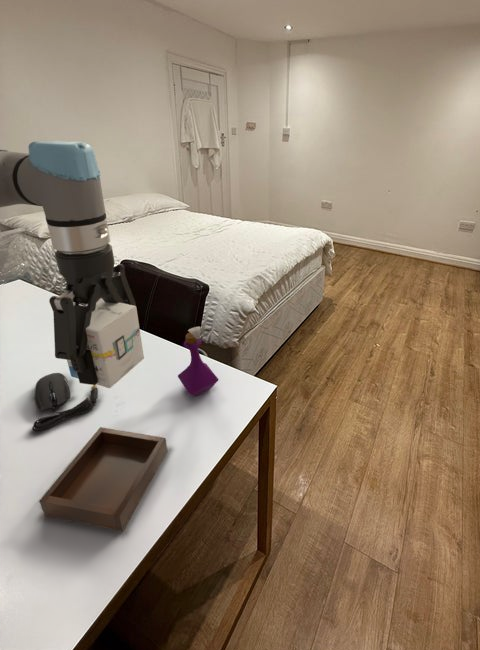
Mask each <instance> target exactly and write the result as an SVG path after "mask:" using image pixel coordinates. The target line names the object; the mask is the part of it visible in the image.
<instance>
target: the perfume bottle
mask: <svg viewBox="0 0 480 650" xmlns="http://www.w3.org/2000/svg"><path fill="white" fill-rule="evenodd" d="M201 331H202V327H201V326H194V327H191V328H189V329H188V330H187V332H188V333H186V335H185V338H184V339H185V340H184V341H183V347H184V348H186V349H188V351H189V353H190V363H189V365H187V367H186V368H185V369H184V370H183V371H181V372H180V373H179V374H177V378H178V379H179V381H180V382H181V384H182V386H183V387H184V389H185V390H186V392H187V393H188V395H190V396H192V397H197V396H200V395H201V394H204V393H205V392H207V391H209V390H211V389H212V388H213V387H214V386H215V385H216V384H217V383H218V382H219V378H218V377H217V375H216V374H215V373H214V371H213V370H212V369H211V368H210V366H209V365H208V364H207V363H206V362H204V361H203V359H202V358H201V356H200V352H199V347H200V346H201V344H202V339H201V338H200V337H201V333H202V332H201Z"/></svg>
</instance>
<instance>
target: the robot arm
mask: <svg viewBox="0 0 480 650" xmlns="http://www.w3.org/2000/svg"><path fill="white" fill-rule="evenodd" d="M27 149H28V153H25V152H17V151H9V150H6V149H0V208H6V207H11V206H15V205H28V206H36V207H42V210H43V213H44V216H45V222H46V225H47V229H48V233H49V237H50V241H51V242H50V243H51V246H52V249H53V250H55V253H54V257H55V261H56V265H57V269H58V273H59V275H60V276H62V277H63V278H64V279H65V281H66V284H65V291H64V292H63V293H62V294H60V295H59V296H58V295H52V296H50V297H49V300H48V301H49V304H50V307H51V310H52V312H53V336H54V337H53V339H54V340H53V341H54V357H55V359H58V360H66V361H67V360H71V363H72V367H73V370H74V371H75V372H77V374H78V378H79V379H78V378H77V379H78V381H79V384H84V385H90V386H94V385H96V386H97V383H98V379H97V375H96V371H95V367H94V362H93V358H92V354H91V350H86V347H87V340H88V338H87V334H86V328H87V327H88V326H89V325H90V321H91V315H92V312H93V311H94V310H95V308H96V303H97V302H98V301H99V299H100V298H102V299H103V300H104V301H105V302H108V303H117V304H118V303H119V302H120V303H124V304H128V305H133V306H136V300H135V298H134V295H133V293H132V290H131V287H130V285H129V282H128V279H127V276H126V270H125V264H124V263H116V261H115V256H114V250H113V246H112V245H111V244H110V242H111V235H110V231H109V225H108V220H107V213H106V207H105V202H104V195H103V190H102V182H101V172H100V169H99V167H98V162H97V160H96V159H97V158H96V155H95V151H94V149H93V147H92V146H91V145H90V144H88V143H87V142H83V141H73V140H72V141H71V140H35V141H32V142H30V143H29V144H28V147H27ZM81 304H83V305H81ZM87 304H88V305H87ZM85 305H87V306H85ZM76 346H77V347H76Z"/></svg>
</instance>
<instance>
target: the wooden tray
mask: <svg viewBox="0 0 480 650" xmlns="http://www.w3.org/2000/svg"><path fill="white" fill-rule="evenodd" d="M167 453H168V445H167V439H166V437H164V436H163V437H162V436H156V435H152V434H151V435H150V434H143V433H137V432H131V431H125V430H121V429H113V428H107V427H101V426H100V427H99V428H98V429H97V430H96V432H95V433H94V434H93V435H92V436H91V438H90V439H89V440H88V441H87V442H86V444H85V445H84V446H83V447H82V449H81V450H80V451H79V452H78V453H77V454H76V455H75V457H74V458H73V459H72V461H71V462H70V463H69V464H68V466H67V467H66V468H65V469H64V470H63V472H61V474H59V476H58V477H57V479H56V480H55V481H53V484H51V486H50V487H49V488H48V489H47V490H46V492H45V493H44V494H43V496H42V497H40V498H39V500H38V501H39V505H40V507H41V510H42V513H43V515H44V517H49V518H55V519H59V520H65V521H70V522H74V523H79V524H84V525H89V526H94V527H99V528H105V529H108V530H114V531H120V532H124V530H125V529H126V527H127V525H128V524H129V522H130V520H131V518H132V516H133V514H134V513H135V511H136V509H137V507H138V505H139V504H140V502H141V501H142V498H143V496H144V495H145V493H146V491H147V490H148V487H149V486H150V484H151V482H152V481H153V479H154V477H155V474H157V471H158V470H159V468H160V466H161V465H162V462H163V460H164V459H165V457H166V455H167Z"/></svg>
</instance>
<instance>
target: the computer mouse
mask: <svg viewBox="0 0 480 650" xmlns="http://www.w3.org/2000/svg"><path fill="white" fill-rule="evenodd" d="M97 386H98V385H97V384H96V385H91V387H90V392H89V394H90V399H89V398H88V397H86V398H85V399H83V400H82V401H81V402H79V403H78V404H76V405H75V406H74V407H71V408H68V409H66V410H62V411H58V406H60V405H62V404H64V403H65V402H67V401H68V400H70V399H71V390H70V385H69V381H68V378H67V377H66V376H65V375H64V374H63V373H60V372H53V373H49V374H45V375H44V376H42V377H41V378H39V379H38V380H37V382H36V384H35V388H34V401H35V405H36V408H37V410H38V411H39V412H40V411H44V410H48V409H53V411H54V412H55V413H56V414H53V415H48V416H43V417H40V418H38V419H36V420H35V421H34V422H33V424H32V425H33V426H32V427H31V428H32V431H33V432H41V431H45V430H47V429H49V428H51V427H53V426H54V425H56V424H57V423H59V422H60V421H63V420H68V419H69V417H75V416H79V415H83V414H86V413H88V412H90V411H91V410H93V408H94V407H95V405H96V404H97V400H98V396H99V390H98V389H99V388H98V387H97Z"/></svg>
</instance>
